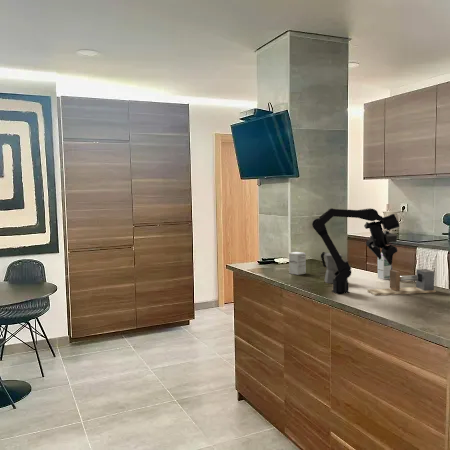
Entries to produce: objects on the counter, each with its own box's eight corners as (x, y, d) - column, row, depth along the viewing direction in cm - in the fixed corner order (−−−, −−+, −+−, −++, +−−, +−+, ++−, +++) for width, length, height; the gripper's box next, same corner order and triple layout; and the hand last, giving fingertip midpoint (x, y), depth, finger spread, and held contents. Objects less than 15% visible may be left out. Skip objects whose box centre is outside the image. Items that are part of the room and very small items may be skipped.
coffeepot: (348, 282, 240) (348, 249, 239) (336, 285, 235) (336, 251, 233) (327, 278, 253) (327, 246, 251) (315, 280, 248) (315, 248, 246)
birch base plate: (374, 295, 211) (374, 293, 211) (367, 291, 219) (367, 289, 219) (435, 292, 214) (435, 290, 214) (426, 288, 222) (426, 286, 222)
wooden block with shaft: (395, 290, 213) (396, 272, 212) (389, 287, 219) (389, 269, 218) (419, 289, 214) (419, 271, 213) (412, 286, 220) (413, 268, 219)
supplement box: (288, 273, 269) (288, 252, 268) (297, 271, 274) (297, 251, 273) (297, 275, 263) (297, 254, 262) (306, 273, 268) (306, 252, 267)
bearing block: (424, 290, 214) (424, 272, 213) (416, 287, 221) (416, 269, 220) (433, 290, 215) (434, 271, 214) (425, 286, 221) (425, 269, 221)
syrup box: (383, 279, 245) (383, 253, 244) (377, 277, 251) (377, 252, 250) (392, 278, 247) (392, 252, 246) (386, 276, 252) (386, 251, 251)
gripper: (403, 231, 206) (411, 260, 210) (381, 222, 224) (389, 249, 228) (382, 241, 205) (390, 270, 209) (361, 231, 222) (370, 258, 227)
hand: (385, 261), depth 218 cm, fingers open, 9 cm apart
